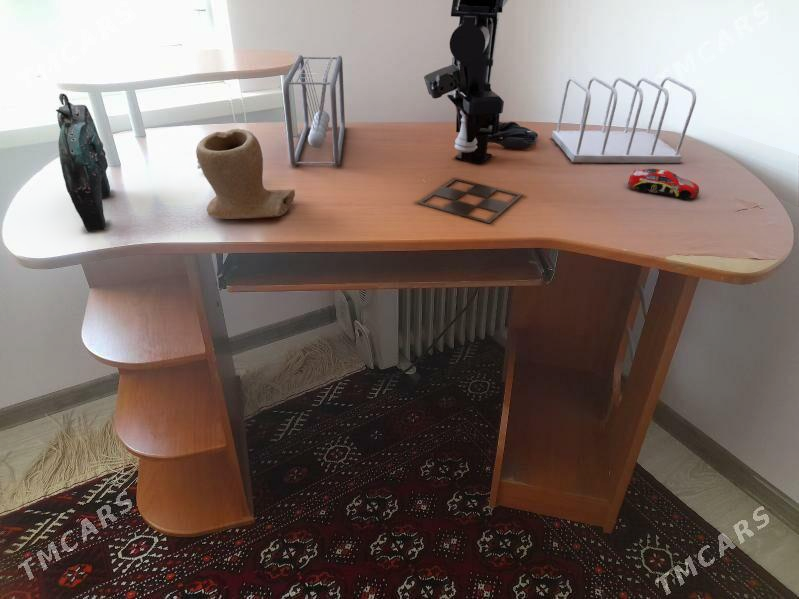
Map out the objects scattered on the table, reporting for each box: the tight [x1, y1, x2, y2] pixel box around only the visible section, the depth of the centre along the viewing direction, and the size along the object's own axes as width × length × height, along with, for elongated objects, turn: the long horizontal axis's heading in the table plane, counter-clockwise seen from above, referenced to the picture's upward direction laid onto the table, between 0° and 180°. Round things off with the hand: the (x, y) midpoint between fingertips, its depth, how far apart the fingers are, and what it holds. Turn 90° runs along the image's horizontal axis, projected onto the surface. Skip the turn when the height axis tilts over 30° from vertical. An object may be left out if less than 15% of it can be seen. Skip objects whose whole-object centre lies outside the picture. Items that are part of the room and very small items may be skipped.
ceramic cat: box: [55, 93, 111, 233], centre depth 94 cm, size 20×6×20 cm, turn 21°
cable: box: [488, 121, 539, 150], centre depth 134 cm, size 17×14×4 cm
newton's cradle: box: [282, 54, 346, 167], centre depth 125 cm, size 30×10×18 cm, turn 2°
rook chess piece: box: [454, 111, 477, 153], centre depth 103 cm, size 4×4×8 cm
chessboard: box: [417, 177, 523, 225], centre depth 106 cm, size 15×15×1 cm
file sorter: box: [551, 76, 697, 164], centre depth 126 cm, size 25×17×16 cm
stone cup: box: [195, 128, 296, 220], centre depth 95 cm, size 15×12×15 cm
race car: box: [627, 168, 700, 201], centre depth 109 cm, size 13×5×4 cm, turn 63°
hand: (466, 138), depth 105 cm, fingers closed on rook chess piece, 3 cm apart
